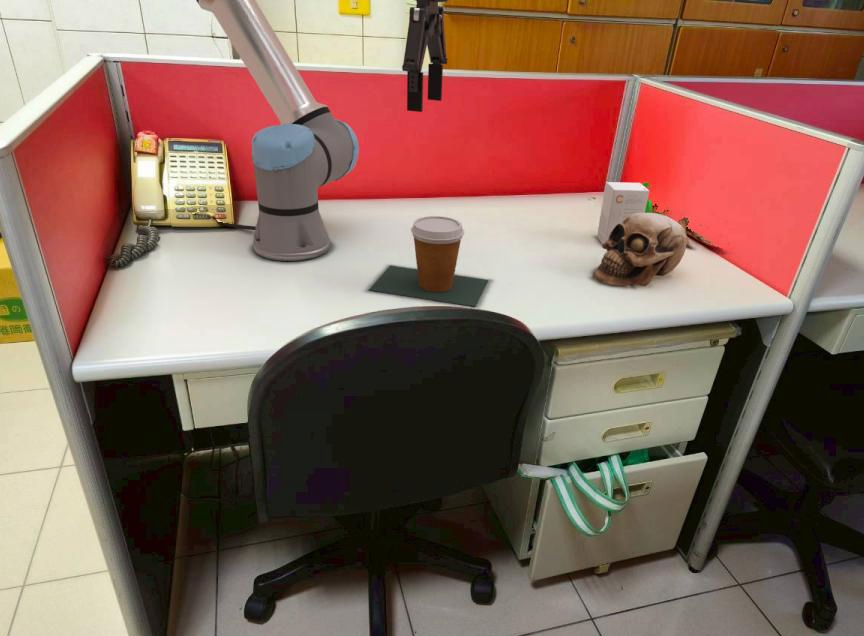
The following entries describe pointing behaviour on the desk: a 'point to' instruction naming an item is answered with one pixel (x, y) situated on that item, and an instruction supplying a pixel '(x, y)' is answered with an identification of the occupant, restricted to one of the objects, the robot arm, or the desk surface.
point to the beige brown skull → (641, 250)
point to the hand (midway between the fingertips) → (425, 105)
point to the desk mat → (408, 285)
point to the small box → (620, 205)
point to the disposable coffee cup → (436, 251)
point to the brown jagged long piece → (692, 233)
